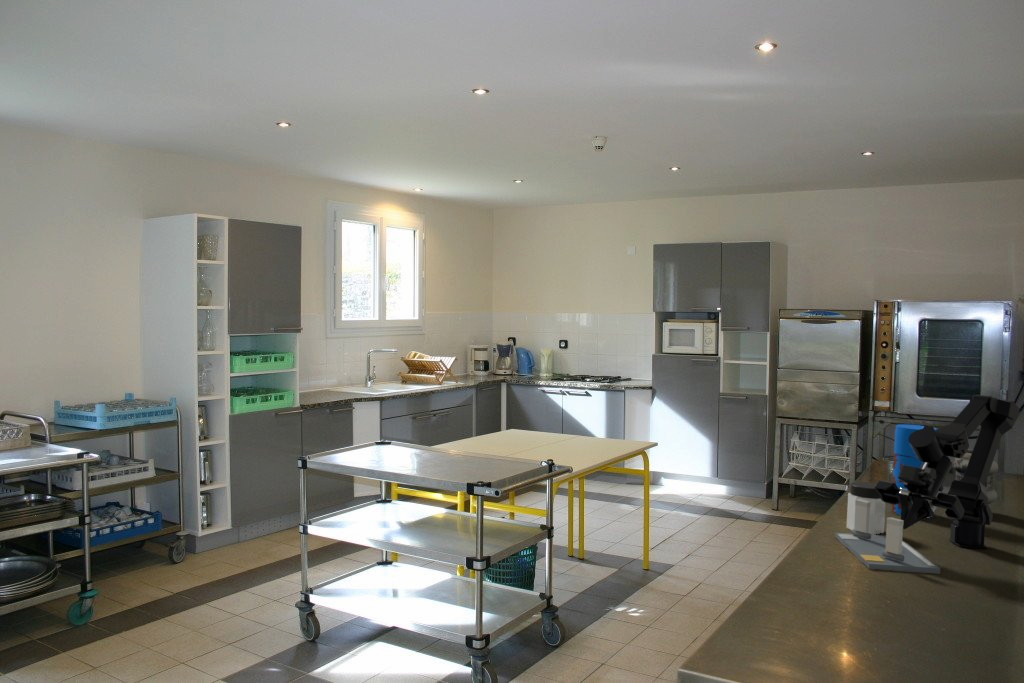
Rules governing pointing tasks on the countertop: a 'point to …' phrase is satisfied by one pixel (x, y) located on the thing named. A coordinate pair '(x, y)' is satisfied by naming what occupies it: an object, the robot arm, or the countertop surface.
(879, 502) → the jar
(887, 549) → the lever
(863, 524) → the lever
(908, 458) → the thermos
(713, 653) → the countertop surface
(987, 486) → the apothecary jar
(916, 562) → the switch panel
